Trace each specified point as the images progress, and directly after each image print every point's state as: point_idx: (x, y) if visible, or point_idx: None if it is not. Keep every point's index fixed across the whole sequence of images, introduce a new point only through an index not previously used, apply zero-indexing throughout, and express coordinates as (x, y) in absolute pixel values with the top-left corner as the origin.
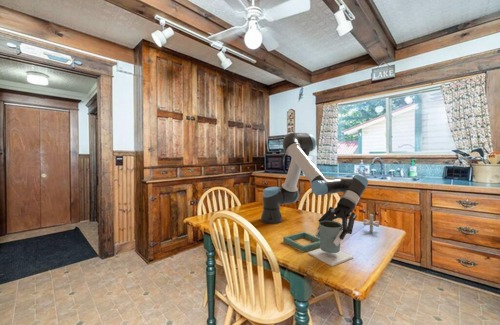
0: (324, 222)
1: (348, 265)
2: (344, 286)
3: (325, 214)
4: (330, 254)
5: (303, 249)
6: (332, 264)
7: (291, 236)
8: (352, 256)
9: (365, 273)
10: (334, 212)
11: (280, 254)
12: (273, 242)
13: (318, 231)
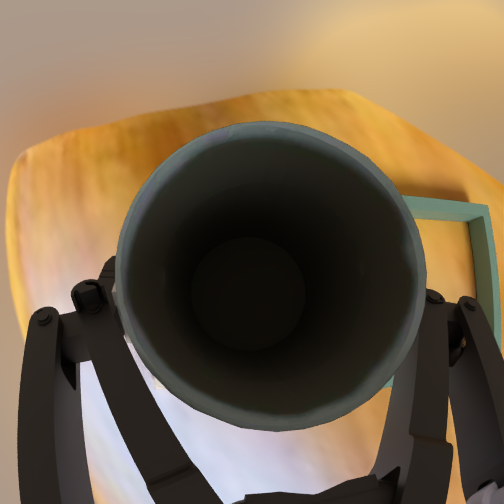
0: (403, 298)
1: None
2: (51, 138)
3: (500, 390)
4: None
5: None
6: None
7: (486, 250)
8: (155, 384)
9: (39, 288)
10: (425, 490)
11: (371, 108)
12: (473, 170)
13: None
